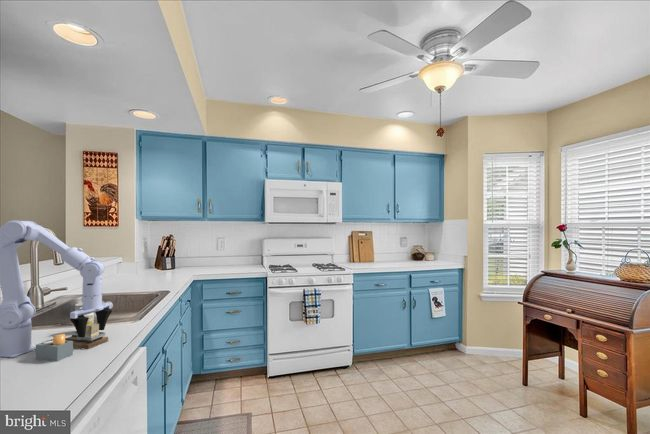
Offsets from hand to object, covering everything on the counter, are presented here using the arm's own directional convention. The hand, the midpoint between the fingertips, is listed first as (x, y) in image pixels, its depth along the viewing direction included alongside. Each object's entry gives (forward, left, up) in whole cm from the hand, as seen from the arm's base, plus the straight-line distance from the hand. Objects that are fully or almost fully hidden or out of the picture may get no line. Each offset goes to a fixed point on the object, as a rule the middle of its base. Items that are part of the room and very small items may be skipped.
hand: (91, 333), depth 115 cm
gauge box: (-2, -12, -4) cm, 12 cm away
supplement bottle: (-15, +11, -4) cm, 19 cm away
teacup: (-26, +25, -4) cm, 36 cm away
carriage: (0, 0, -1) cm, 1 cm away
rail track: (-4, 0, -4) cm, 6 cm away
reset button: (0, -12, -2) cm, 12 cm away
